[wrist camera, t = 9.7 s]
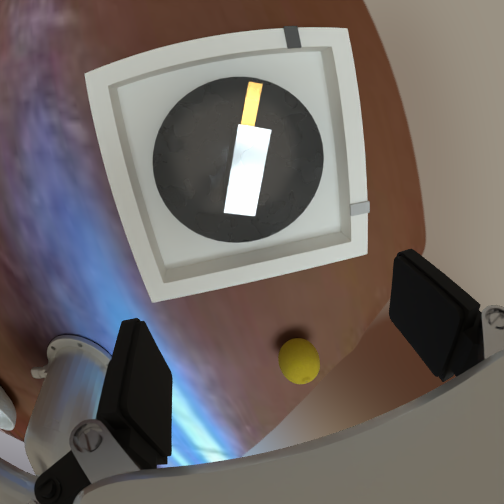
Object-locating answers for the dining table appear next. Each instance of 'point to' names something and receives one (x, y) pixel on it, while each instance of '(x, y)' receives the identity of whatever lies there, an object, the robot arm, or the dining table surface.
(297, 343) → the lemon
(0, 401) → the cereal bowl
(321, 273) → the dining table surface
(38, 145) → the dining table surface
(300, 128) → the dial
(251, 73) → the dial housing
